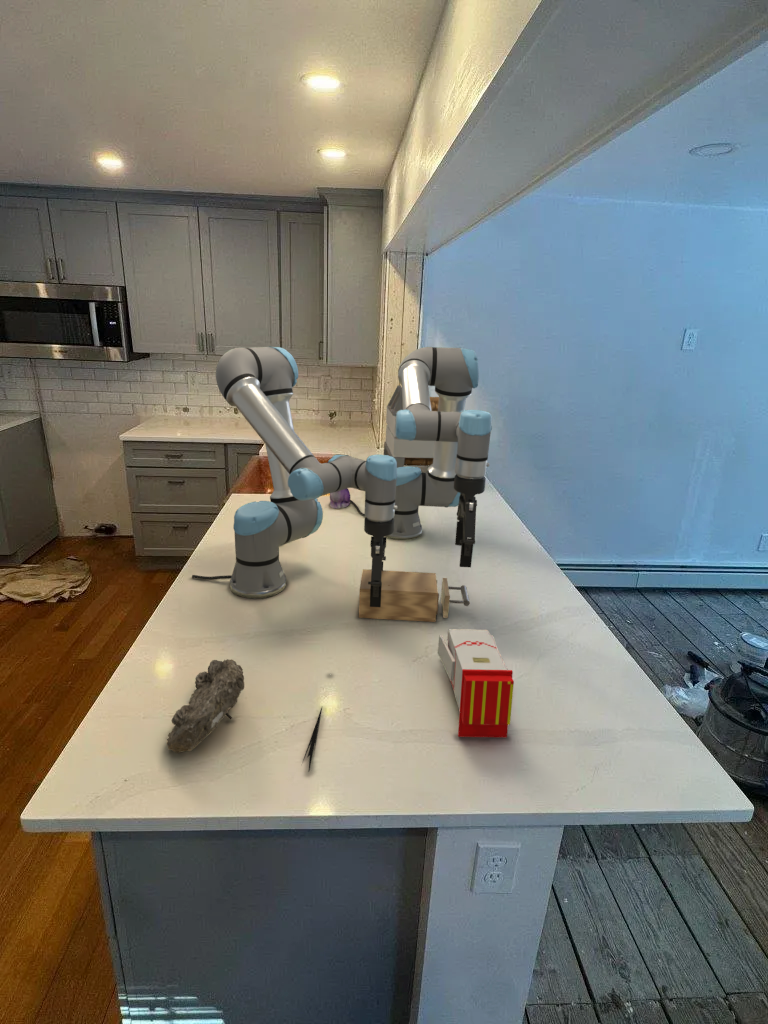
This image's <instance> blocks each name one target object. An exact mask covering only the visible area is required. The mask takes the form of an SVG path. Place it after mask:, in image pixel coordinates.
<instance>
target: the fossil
mask: <svg viewBox="0 0 768 1024" xmlns="http://www.w3.org/2000/svg"><path fill="white" fill-rule="evenodd" d="M243 670H244V669H243V667H242V665H240V664H237V662H236V661H235V660H234V659H232V658H231V659H227V658H226V659H224V660H223V661H222V660H217V659H212V660H211V661H210V663H209V665H208V666H207V671H201V672H199V673H198V674H197V675H196V676H195V680H194V684H195V685H194V687H195V689H194V690H193V693H192V694H191V697H190V698H189V700H188V704H184V705H182V706H181V707H180V709H177V710H176V711H175V713H174V715H173V716H172V718H171V723H172V724H173V727H172V730H171V731H170V732H168V734H167V738H166V741H167V742H166V745H167V749H168V750H169V751H173V752H174V753H176V754H178V753H182V752H188V751H189V752H192V751H193V750H195V748H196V747H197V746H199V744H200V743H201V742H203V741H204V740H205V739H206V738H207V737H208V736H209V735H210V734H211V733H212V732H214V730H215V729H217V727H218V726H219V724H220V722H221V721H222V720H223V719H224V718H225V716H226V717H227V719H229V720H233V717H232V715H230V714H229V710H230V709H231V708H234V706H235V704H236V703H237V702H238V699H239V697H240V695H241V693H242V691H243V690H245V689H244V688H245V675H244V671H243Z"/></svg>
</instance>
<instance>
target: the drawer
mask: <svg viewBox="0 0 768 1024" xmlns="http://www.w3.org/2000/svg"><path fill="white" fill-rule="evenodd" d="M450 590H453V591H460V594H461V598H462V600H458V599H457V600H456V599H450V598H451V594H450ZM468 592H469V591H468V589H467V585H465V584H462V585H460V586H449V581H448V577H442V580H441V591H440V593H439V592H438V599H437V611H436V615H438V611H439V601H440V603H441V611H442V618H443V619H448V618H449V612H450V611H449V609H450V604H461V605H463V606H465V607H469V606H470V604H471V602H470V597H469V593H468ZM439 598H440V599H439Z"/></svg>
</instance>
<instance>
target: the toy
mask: <svg viewBox="0 0 768 1024" xmlns="http://www.w3.org/2000/svg"><path fill="white" fill-rule="evenodd" d="M446 640H447V643H446V641H445V639H444V636H443V635H442V634H439V637H438V646H437V656H438V657H439V659H440V661H441V663H442V666H443V668H444V670H445V672H446V674H447V677H448V679H449V681H450V684H451V687H452V690H453V693H454V697H455V701H456V705H457V708H458V711H459V714H458V715H459V716H458V730H457V731H458V732H457V737H458V738H508V731H509V726H510V725H511V717H512V707H513V697H514V696H513V695H514V684H515V680H514V679H513V673H514V671H513V670H512V669H508V667H507V665H506V662H505V661H504V659H503V658H502V655H501V653H500V651H499V649H498V647H497V643H496V639H495V637H494V635H493V634H491V632H490V631H489V629H467V628H466V629H465V628H463V629H461V628H460V629H459V628H448V630H447V639H446Z"/></svg>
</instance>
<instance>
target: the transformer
mask: <svg viewBox="0 0 768 1024" xmlns="http://www.w3.org/2000/svg"><path fill="white" fill-rule="evenodd" d="M430 403H431V411H438V403H439V396H430ZM399 410H403V401H402V385H401V384H400V385H399V384H398V385H397V386H396V388H395V390H394V392H393V394H392V395H391V398H390V400H389V402H388V404H387V405H386V413H385V414H386V415H385V423H386V428H385V438H384V442H383V455H388V456H391V457H393V458H395V460H396V462H397V468H398V467H405V466H413V467H429V466H430V465H431V464H433V456H434V446H435V441H417V440H413V441H409V440H403V439H398V438H397V437H396V415H397V412H398V411H399Z"/></svg>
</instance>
